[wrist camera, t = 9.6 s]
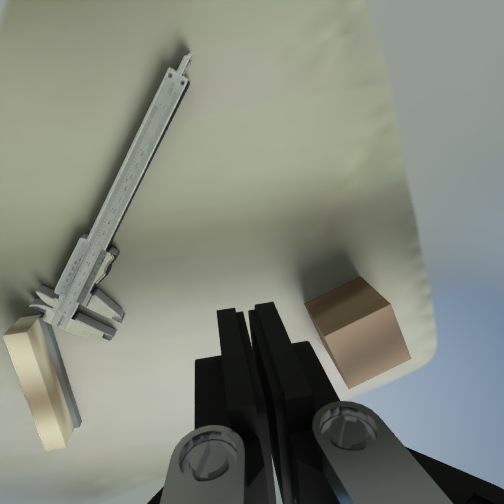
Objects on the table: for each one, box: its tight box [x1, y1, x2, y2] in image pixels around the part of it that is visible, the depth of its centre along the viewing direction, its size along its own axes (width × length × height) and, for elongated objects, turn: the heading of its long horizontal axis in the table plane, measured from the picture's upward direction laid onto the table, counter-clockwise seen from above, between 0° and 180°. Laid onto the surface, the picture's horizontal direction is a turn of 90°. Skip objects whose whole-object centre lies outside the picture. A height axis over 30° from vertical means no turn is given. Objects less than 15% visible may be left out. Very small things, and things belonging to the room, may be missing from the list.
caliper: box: [29, 53, 192, 341], centre depth 24 cm, size 20×1×6 cm
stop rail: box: [3, 314, 82, 451], centre depth 27 cm, size 10×2×2 cm, turn 6°
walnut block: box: [305, 277, 411, 389], centre depth 28 cm, size 5×5×5 cm
